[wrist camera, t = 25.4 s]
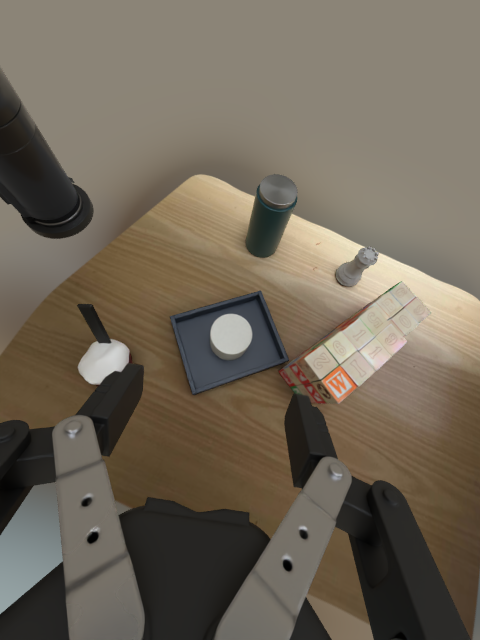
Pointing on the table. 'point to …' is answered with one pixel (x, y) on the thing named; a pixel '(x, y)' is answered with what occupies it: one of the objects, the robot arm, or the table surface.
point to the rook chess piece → (356, 266)
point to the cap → (230, 336)
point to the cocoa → (101, 350)
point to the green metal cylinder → (270, 214)
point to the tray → (201, 359)
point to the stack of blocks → (356, 347)
